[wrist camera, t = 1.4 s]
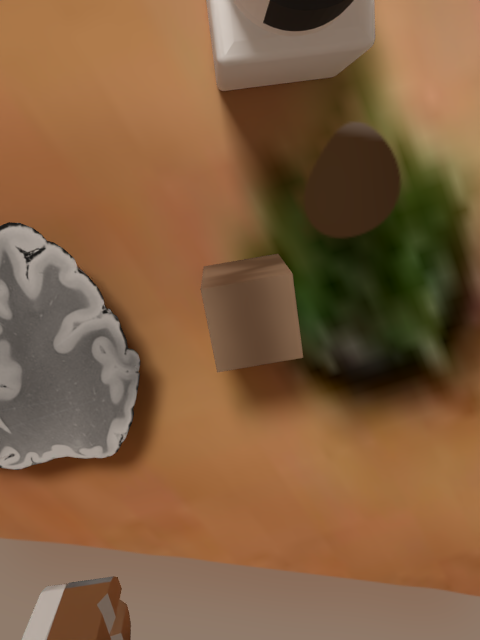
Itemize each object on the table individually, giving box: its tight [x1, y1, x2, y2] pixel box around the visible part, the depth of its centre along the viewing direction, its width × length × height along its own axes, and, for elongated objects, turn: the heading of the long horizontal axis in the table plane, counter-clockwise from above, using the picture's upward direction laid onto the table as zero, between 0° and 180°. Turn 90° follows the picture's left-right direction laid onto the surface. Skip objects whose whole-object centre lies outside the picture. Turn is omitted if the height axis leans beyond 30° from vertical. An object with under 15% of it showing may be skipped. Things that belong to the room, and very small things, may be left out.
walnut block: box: [201, 254, 303, 372], centre depth 28 cm, size 5×5×6 cm
